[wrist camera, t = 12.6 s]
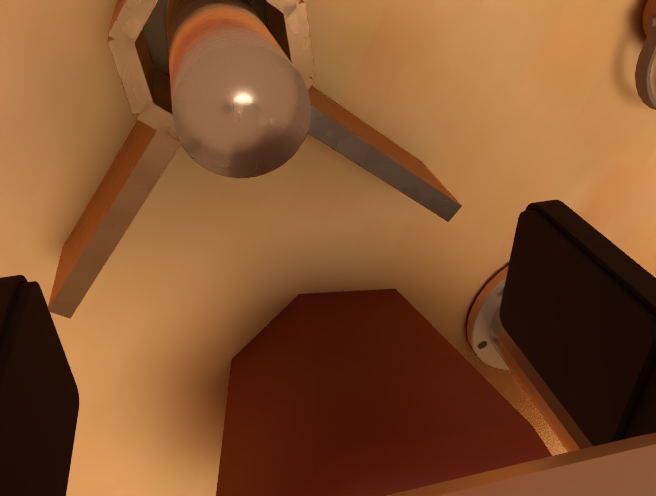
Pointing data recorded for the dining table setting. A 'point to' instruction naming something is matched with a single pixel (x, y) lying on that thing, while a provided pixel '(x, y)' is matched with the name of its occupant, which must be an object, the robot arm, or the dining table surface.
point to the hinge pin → (233, 89)
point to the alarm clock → (647, 55)
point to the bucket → (361, 405)
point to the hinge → (162, 142)
